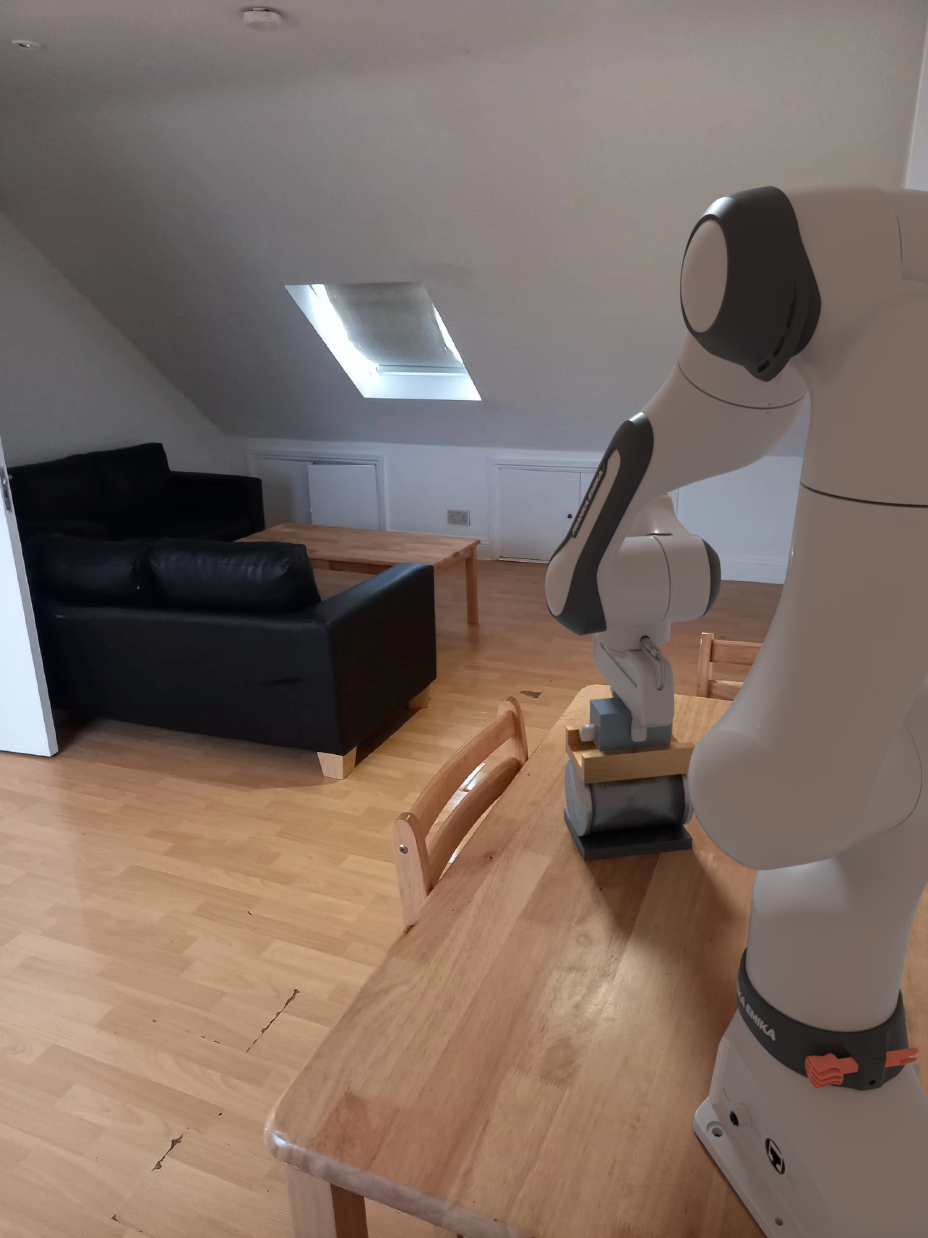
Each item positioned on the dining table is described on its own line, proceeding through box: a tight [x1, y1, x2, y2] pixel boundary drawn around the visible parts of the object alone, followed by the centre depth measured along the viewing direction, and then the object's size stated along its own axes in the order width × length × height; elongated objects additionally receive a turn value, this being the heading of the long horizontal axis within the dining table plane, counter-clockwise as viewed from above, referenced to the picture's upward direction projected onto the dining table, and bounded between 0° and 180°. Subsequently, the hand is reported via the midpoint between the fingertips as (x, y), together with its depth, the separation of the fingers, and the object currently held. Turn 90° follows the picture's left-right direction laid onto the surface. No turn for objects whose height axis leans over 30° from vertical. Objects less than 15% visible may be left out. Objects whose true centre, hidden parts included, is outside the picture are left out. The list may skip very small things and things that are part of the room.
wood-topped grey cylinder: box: [563, 721, 696, 862], centre depth 109 cm, size 10×14×14 cm
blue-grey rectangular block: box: [579, 697, 671, 752], centre depth 106 cm, size 4×11×5 cm, turn 98°
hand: (629, 728), depth 106 cm, fingers closed on blue-grey rectangular block, 4 cm apart
